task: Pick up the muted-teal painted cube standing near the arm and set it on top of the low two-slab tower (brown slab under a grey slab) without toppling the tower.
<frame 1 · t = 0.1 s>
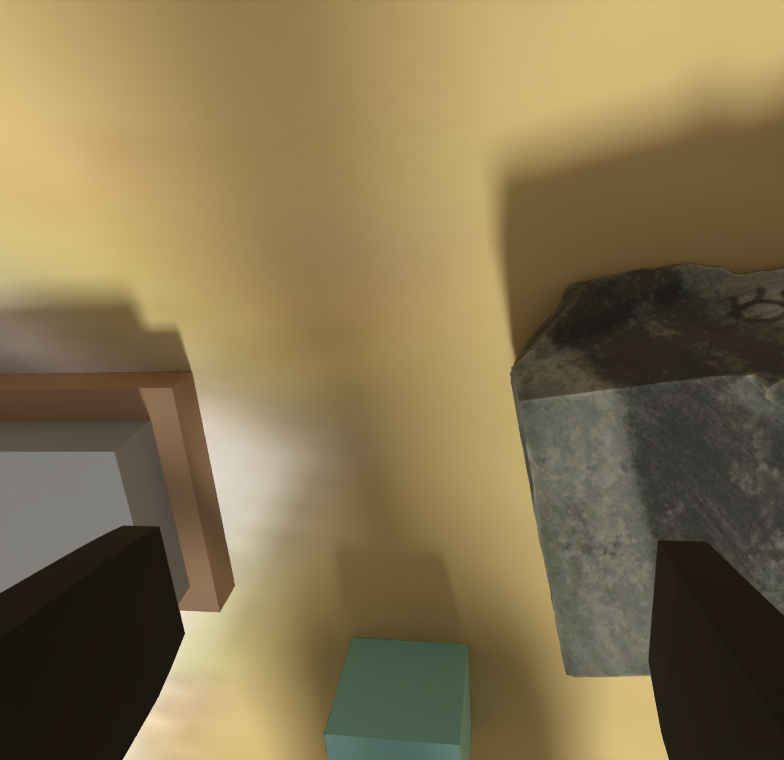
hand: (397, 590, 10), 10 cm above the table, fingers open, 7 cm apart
tower base: (113, 474, 23), on the table, touching tower mid
tower mid: (84, 506, 21), point 1 cm above the table, touching tower base
teal block: (413, 683, 24), on the table
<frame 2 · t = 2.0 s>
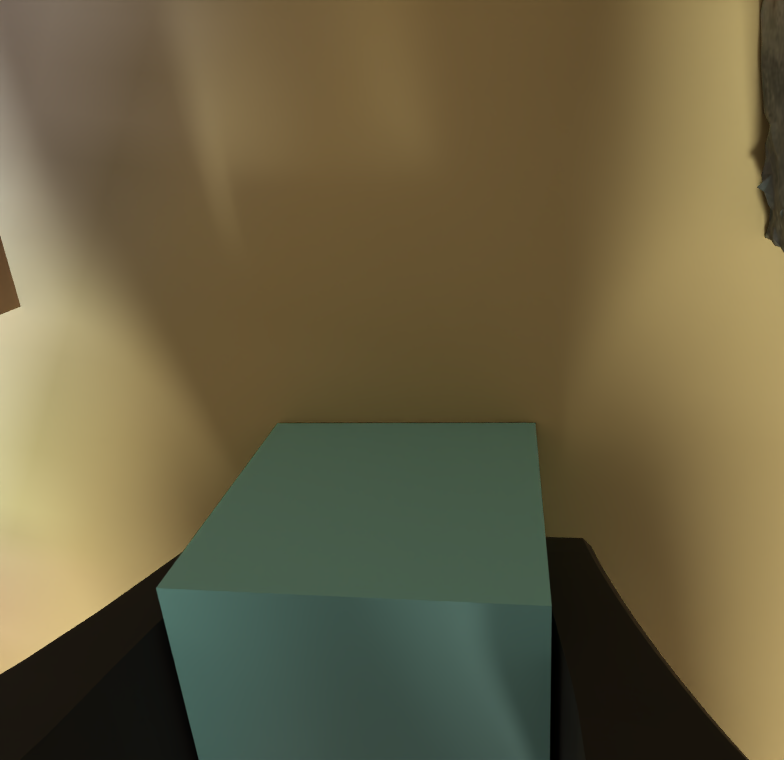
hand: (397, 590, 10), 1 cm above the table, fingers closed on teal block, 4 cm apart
teal block: (410, 533, 11), on the table, touching gripper
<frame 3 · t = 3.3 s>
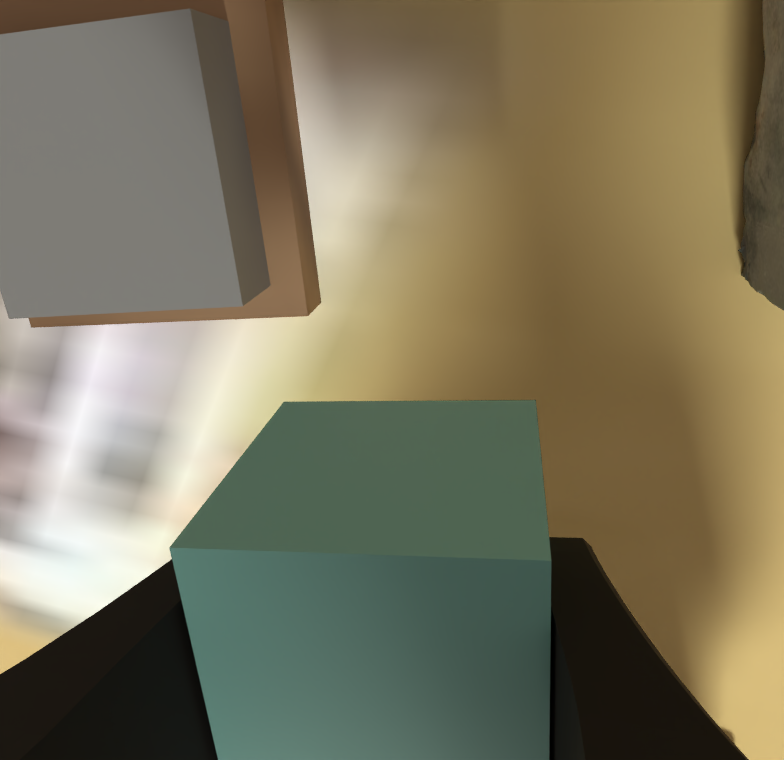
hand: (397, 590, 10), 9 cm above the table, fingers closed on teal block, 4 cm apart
tower base: (168, 160, 18), on the table, touching tower mid
tower mid: (135, 172, 16), point 1 cm above the table, touching tower base
teal block: (413, 510, 11), point 8 cm above the table, touching gripper
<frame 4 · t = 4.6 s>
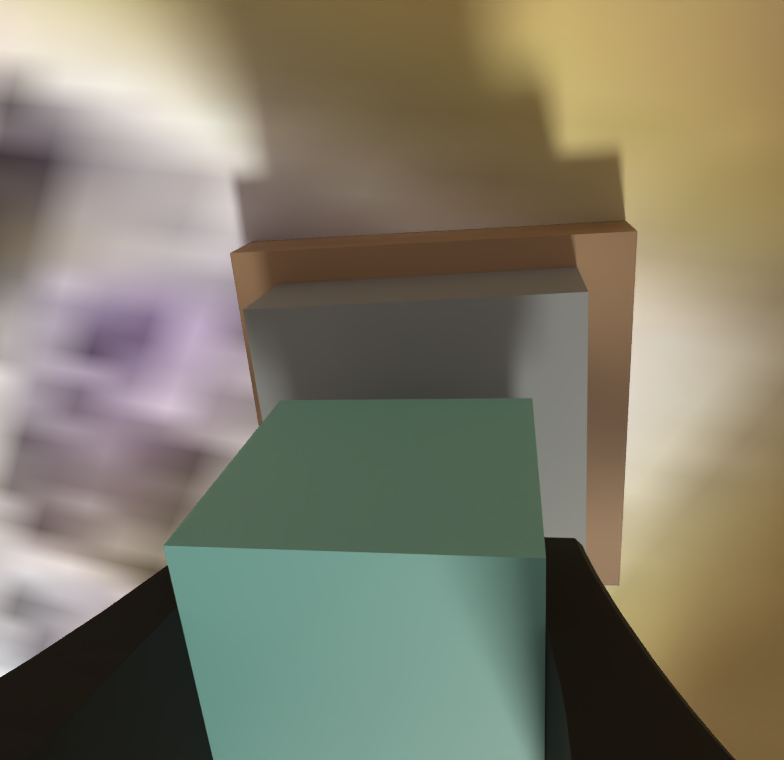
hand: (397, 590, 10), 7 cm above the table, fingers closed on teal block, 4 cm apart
tower base: (442, 392, 16), on the table, touching tower mid
tower mid: (432, 413, 14), point 1 cm above the table, touching tower base
teal block: (410, 509, 11), point 5 cm above the table, touching gripper
when the fingers open (7 cm above the table, at t = 4.9 s): teal block drops 2 cm, point 3 cm above the table.
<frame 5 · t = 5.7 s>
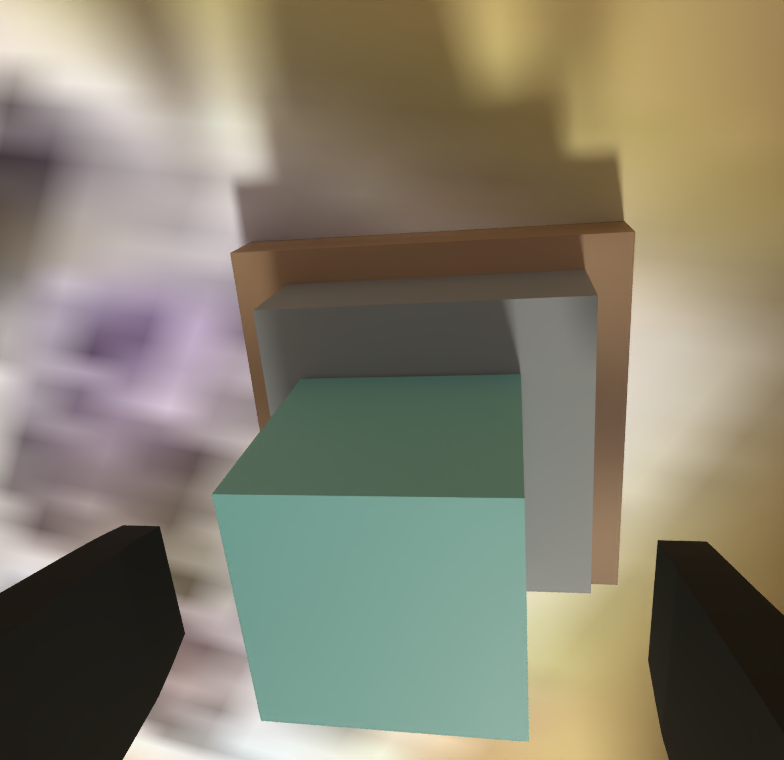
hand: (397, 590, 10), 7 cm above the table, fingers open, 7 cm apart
tower base: (441, 391, 16), on the table, touching tower mid
tower mid: (439, 413, 14), point 1 cm above the table, touching tower base
teal block: (415, 473, 13), point 3 cm above the table
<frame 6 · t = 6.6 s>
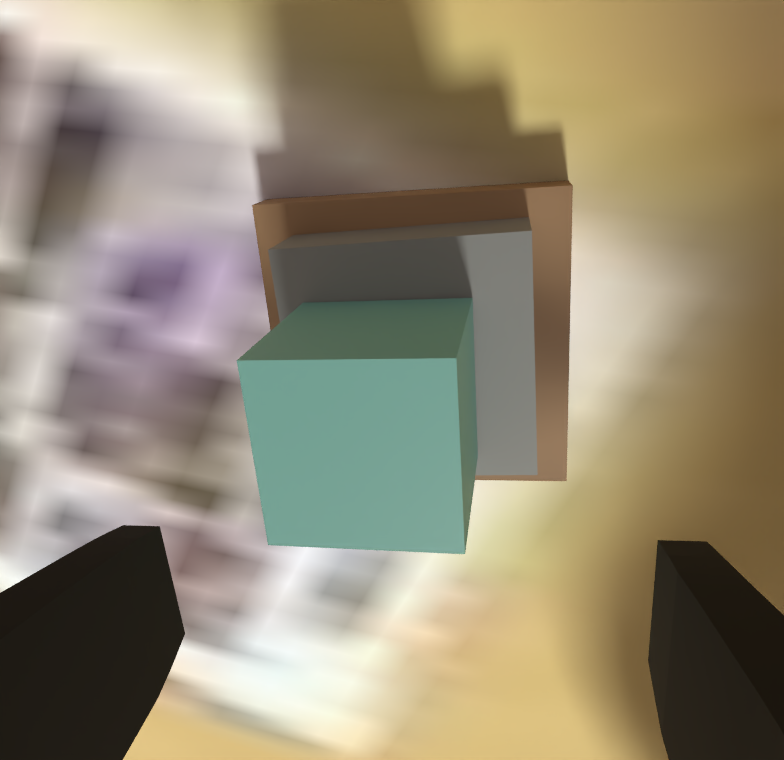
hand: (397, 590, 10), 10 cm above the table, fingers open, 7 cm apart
tower base: (424, 326, 20), on the table
tower mid: (417, 339, 18), point 1 cm above the table
teal block: (392, 380, 16), point 3 cm above the table
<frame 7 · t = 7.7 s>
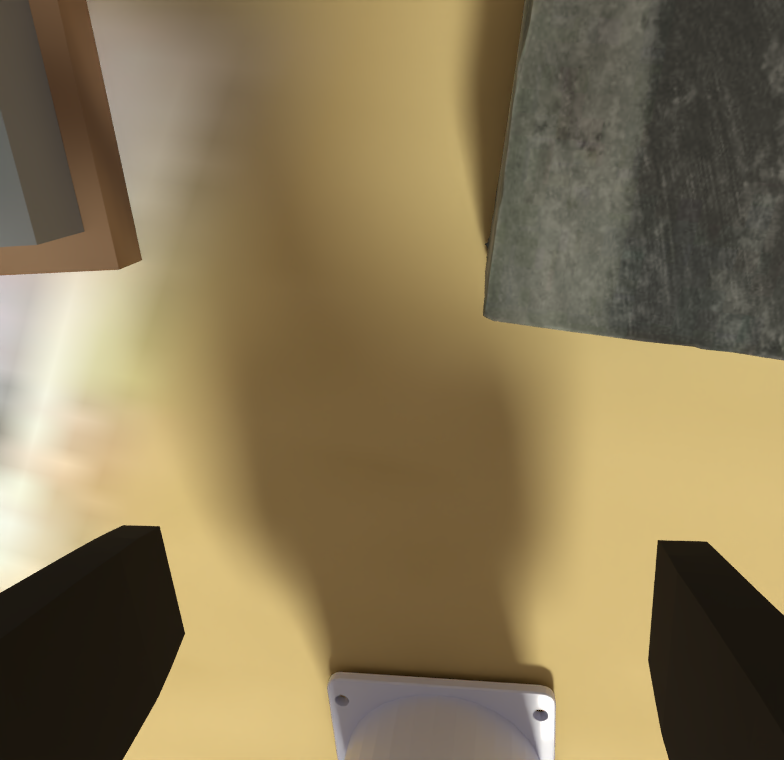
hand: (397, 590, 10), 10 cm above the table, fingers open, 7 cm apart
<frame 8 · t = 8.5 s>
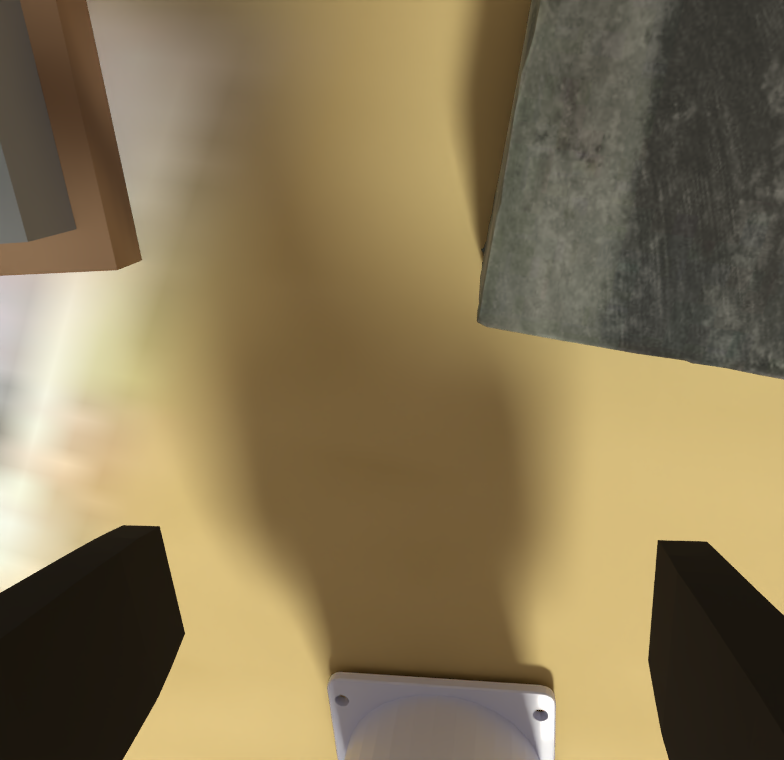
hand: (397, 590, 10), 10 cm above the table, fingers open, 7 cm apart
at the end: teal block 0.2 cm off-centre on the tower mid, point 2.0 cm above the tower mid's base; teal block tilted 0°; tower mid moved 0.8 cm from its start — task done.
